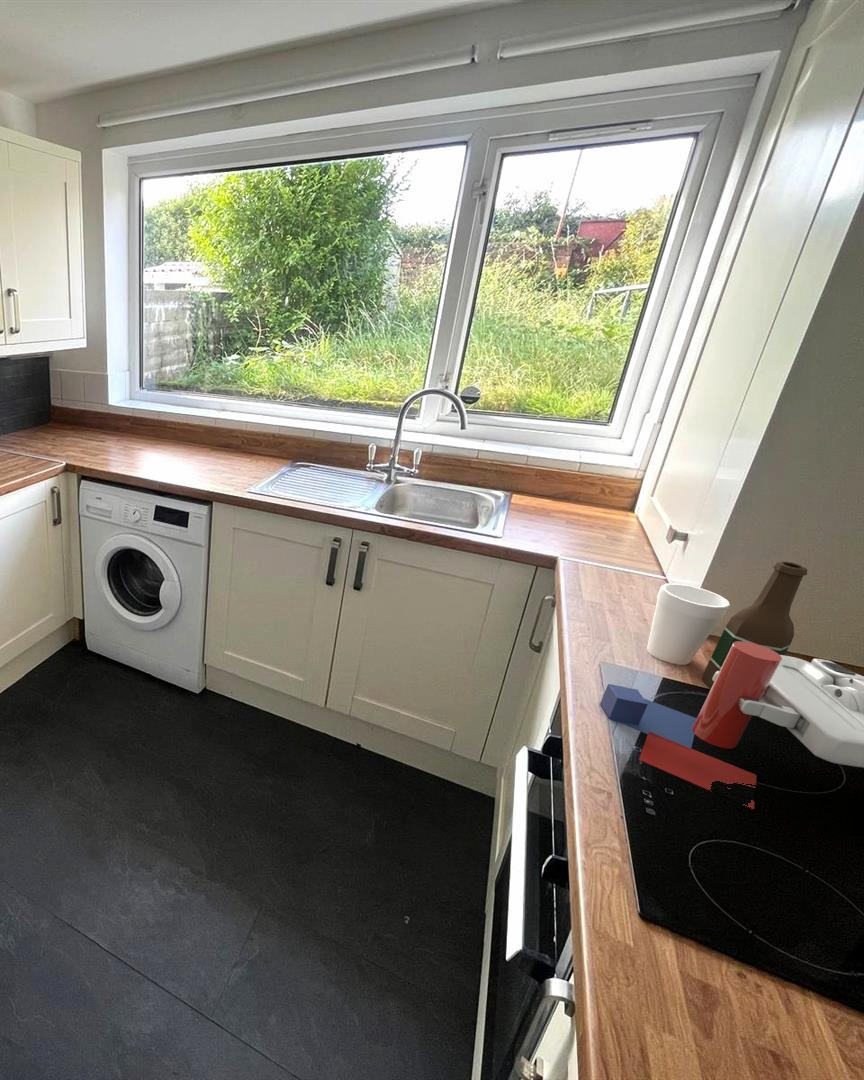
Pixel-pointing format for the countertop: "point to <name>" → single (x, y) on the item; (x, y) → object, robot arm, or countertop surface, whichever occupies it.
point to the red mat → (692, 764)
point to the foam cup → (683, 621)
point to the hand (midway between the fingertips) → (727, 690)
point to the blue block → (623, 704)
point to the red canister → (735, 693)
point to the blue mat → (666, 724)
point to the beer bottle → (762, 618)
